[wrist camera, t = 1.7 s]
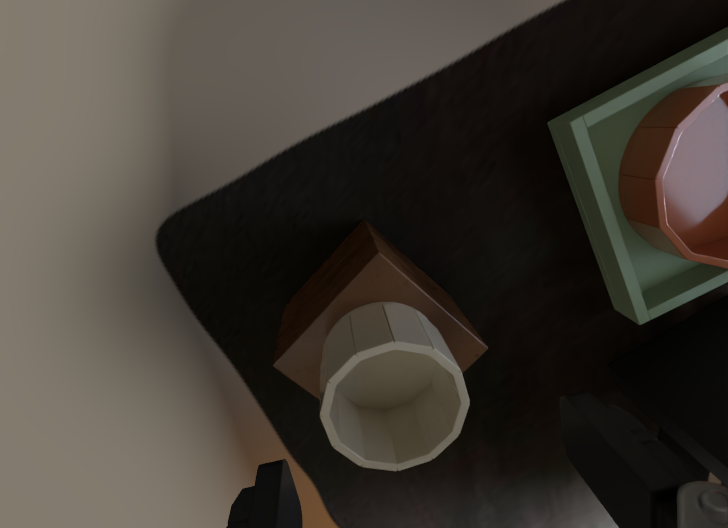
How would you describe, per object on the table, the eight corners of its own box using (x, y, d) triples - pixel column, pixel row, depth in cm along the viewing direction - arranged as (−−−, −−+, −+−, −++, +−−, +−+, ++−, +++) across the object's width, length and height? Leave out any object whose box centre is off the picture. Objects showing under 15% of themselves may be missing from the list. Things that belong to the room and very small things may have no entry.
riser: (284, 305, 30) (271, 366, 23) (364, 218, 29) (378, 251, 22) (370, 372, 33) (385, 448, 25) (448, 294, 31) (489, 348, 24)
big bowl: (584, 175, 29) (619, 182, 25) (722, 37, 27) (780, 24, 24) (679, 281, 32) (722, 300, 28) (809, 163, 30) (872, 167, 26)
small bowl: (296, 364, 23) (290, 419, 19) (379, 276, 22) (393, 313, 18) (384, 428, 25) (398, 493, 20) (465, 350, 24) (497, 400, 19)
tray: (614, 309, 33) (639, 325, 30) (546, 122, 28) (569, 122, 26) (816, 208, 32) (862, 216, 29) (779, -1, 27) (828, -15, 25)
